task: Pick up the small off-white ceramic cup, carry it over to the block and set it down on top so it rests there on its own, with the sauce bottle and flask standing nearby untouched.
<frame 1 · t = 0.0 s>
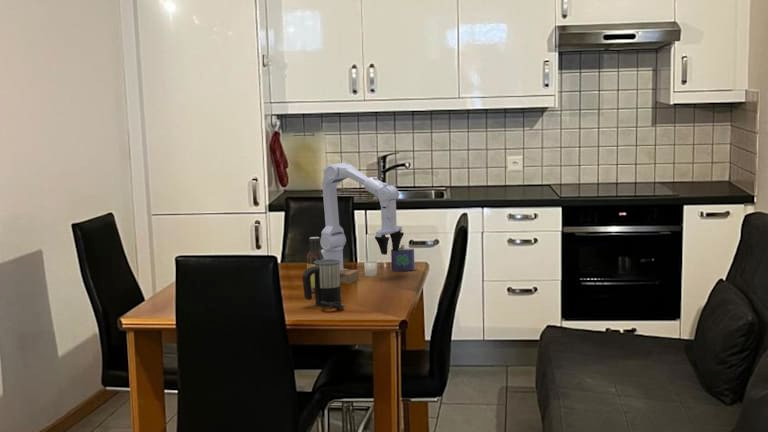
hand: (389, 252, 351), 10 cm above the table, tool pointing down, fingers open, 7 cm apart
block: (345, 281, 350), on the table
cup: (371, 274, 360), on the table
flask: (403, 271, 366), on the table
sauce bottle: (316, 291, 336), on the table
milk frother: (330, 306, 312), on the table
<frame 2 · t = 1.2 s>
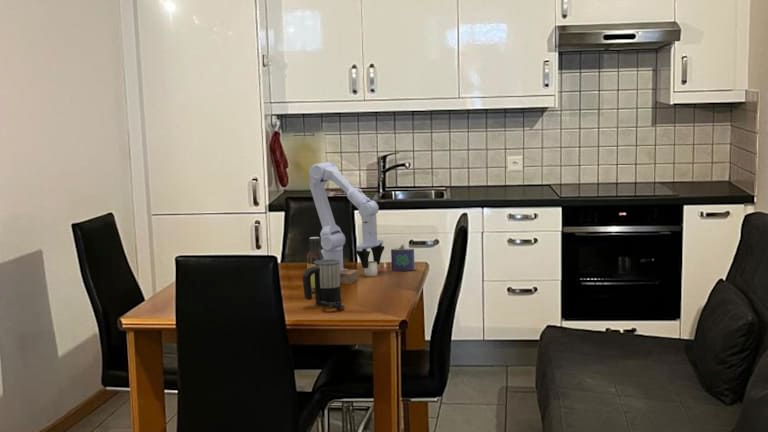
hand: (371, 266, 360), 3 cm above the table, tool pointing down, fingers open, 7 cm apart
nothing on the table moved.
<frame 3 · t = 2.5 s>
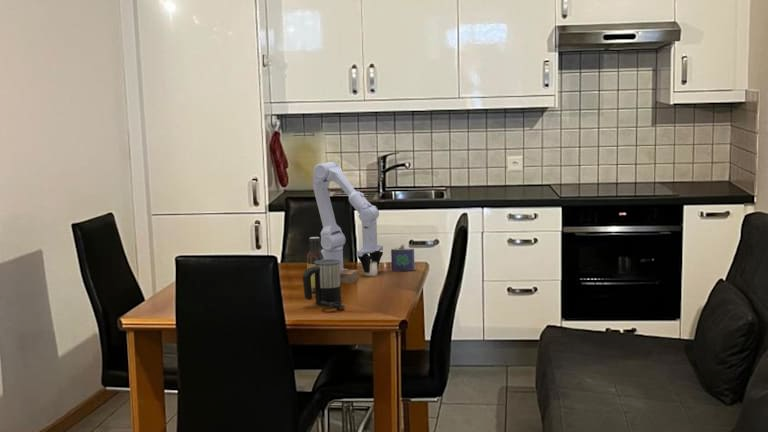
hand: (371, 271, 360), 1 cm above the table, tool pointing down, fingers closed on cup, 5 cm apart
cup: (371, 274, 360), on the table, touching gripper
everything else where it was.
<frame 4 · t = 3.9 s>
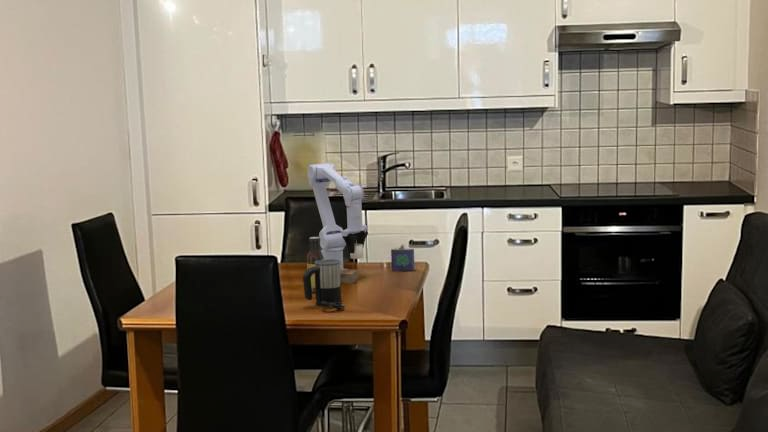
hand: (355, 251, 353), 10 cm above the table, tool pointing down, fingers closed on cup, 5 cm apart
cup: (356, 257, 354), point 8 cm above the table, touching gripper
everything else where it was.
when the fingers open (7 cm above the table, at t = 5.8 s): cup stays where it is, point 4 cm above the table.
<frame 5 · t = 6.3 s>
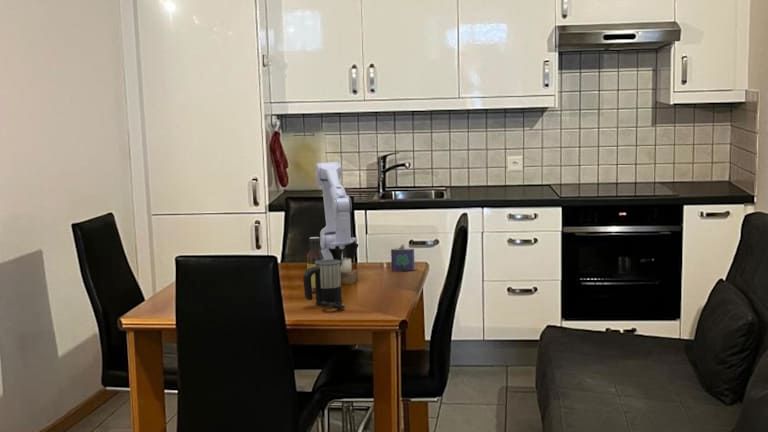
hand: (344, 264, 349), 7 cm above the table, tool pointing down, fingers open, 7 cm apart
cup: (345, 271, 350), point 4 cm above the table
everything else where it was.
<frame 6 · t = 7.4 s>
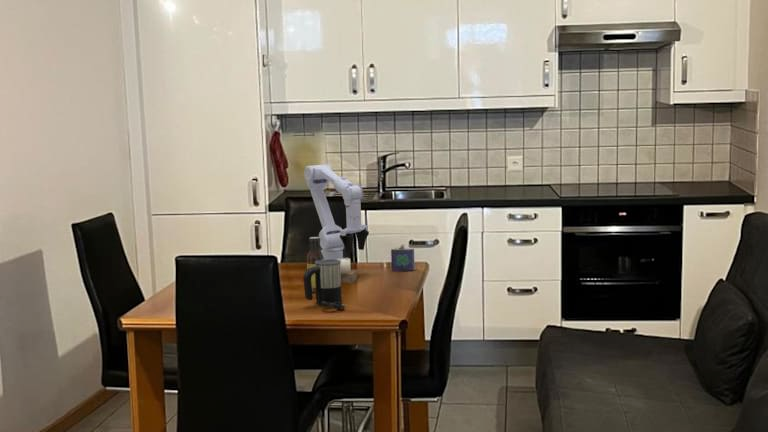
hand: (355, 251, 355), 10 cm above the table, tool pointing down, fingers open, 7 cm apart
block: (344, 282, 351), on the table, touching cup
cup: (344, 271, 350), point 4 cm above the table, touching block
everything else where it was.
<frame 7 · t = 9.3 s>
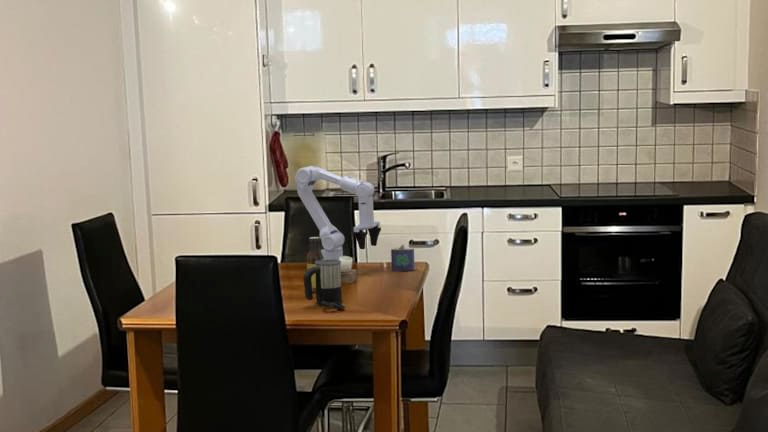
hand: (368, 247, 362), 10 cm above the table, tool pointing down, fingers open, 7 cm apart
block: (344, 281, 351), on the table
cup: (344, 270, 350), point 4 cm above the table, tilted 11°
everything else where it was.
at the end: cup 0.3 cm off-centre on the block, point 4.5 cm above the block's base; cup tilted 11°; cup touching nothing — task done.
